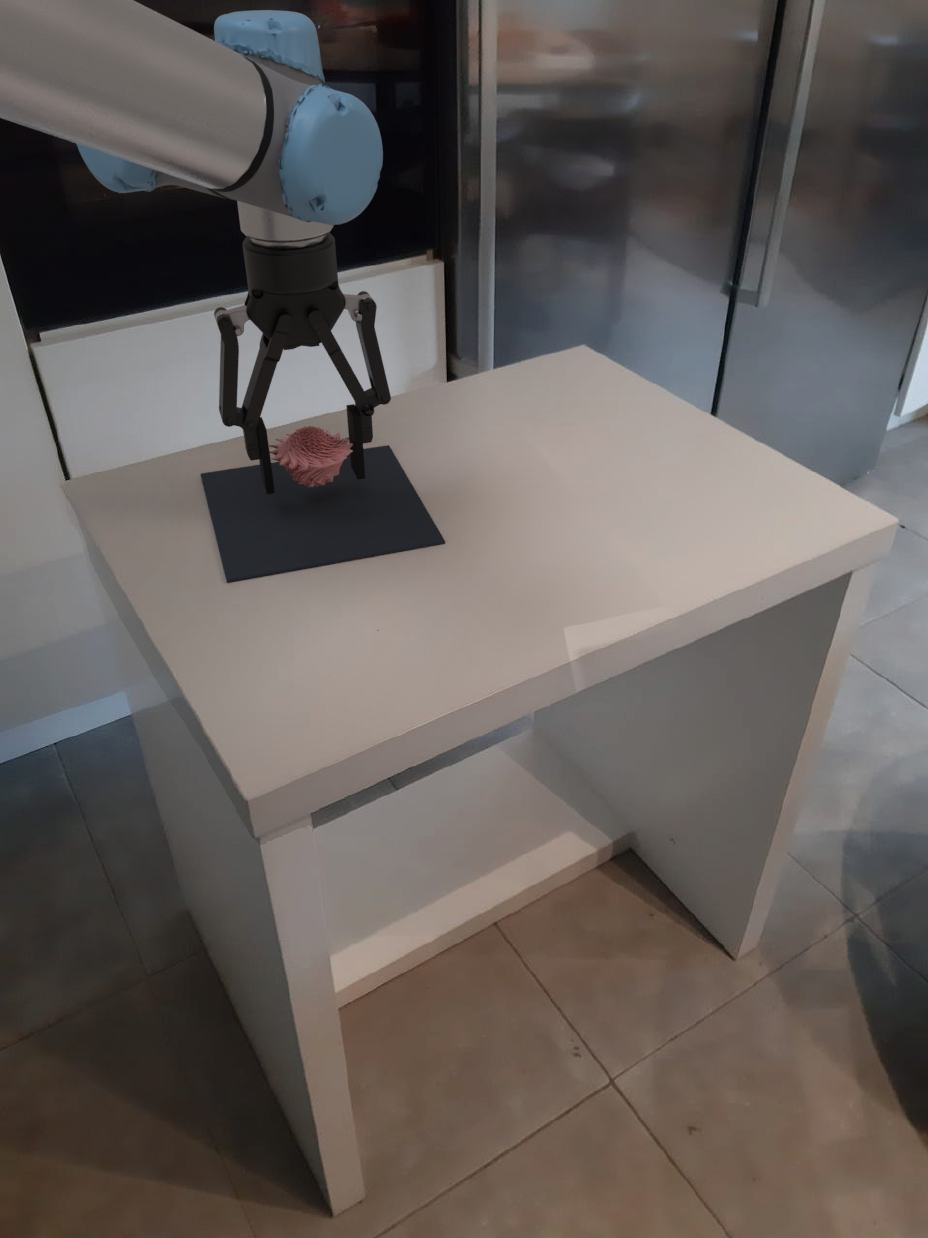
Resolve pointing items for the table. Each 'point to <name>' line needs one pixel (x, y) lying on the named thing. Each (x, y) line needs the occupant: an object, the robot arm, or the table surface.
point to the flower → (312, 455)
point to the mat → (315, 517)
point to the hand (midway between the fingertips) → (313, 479)
